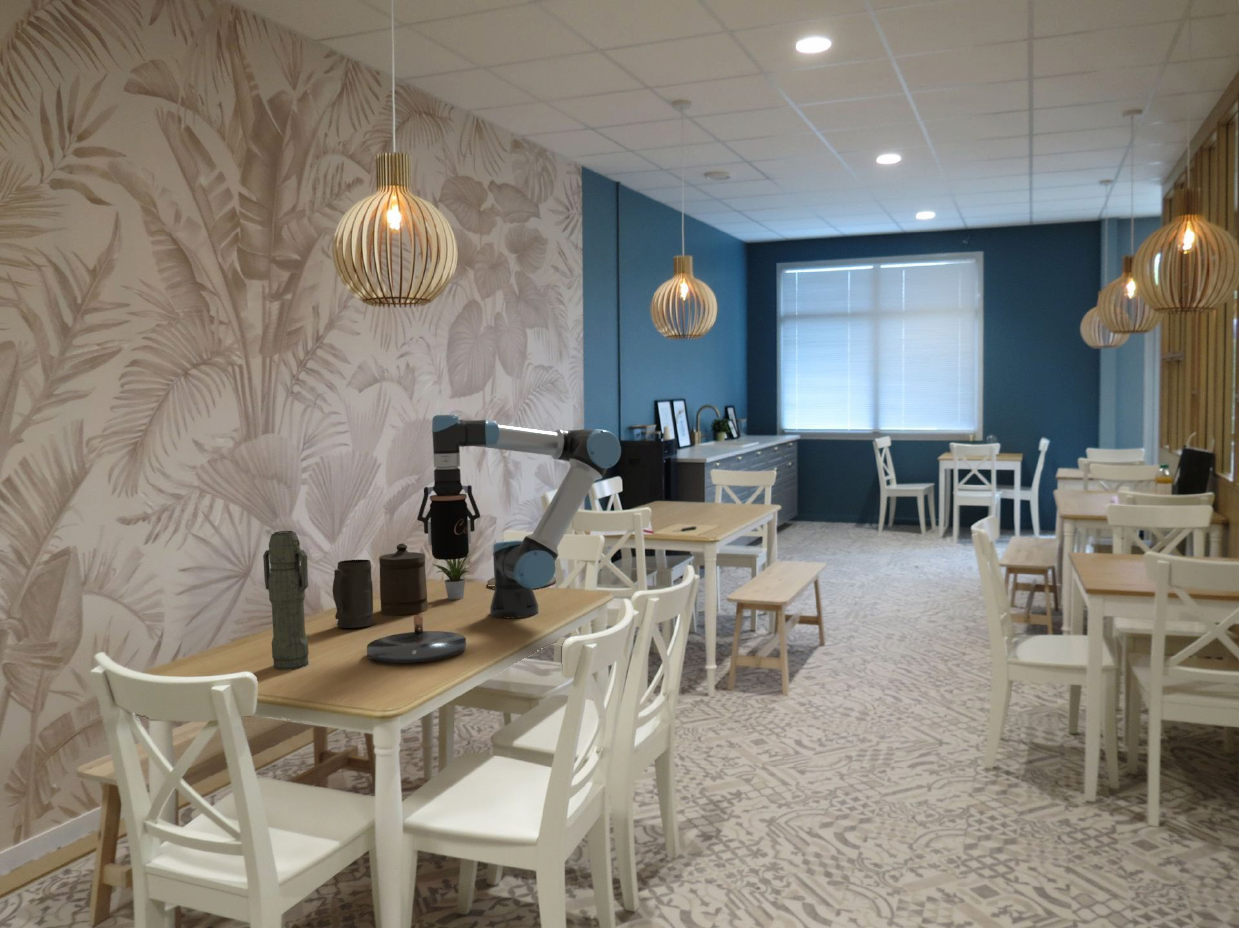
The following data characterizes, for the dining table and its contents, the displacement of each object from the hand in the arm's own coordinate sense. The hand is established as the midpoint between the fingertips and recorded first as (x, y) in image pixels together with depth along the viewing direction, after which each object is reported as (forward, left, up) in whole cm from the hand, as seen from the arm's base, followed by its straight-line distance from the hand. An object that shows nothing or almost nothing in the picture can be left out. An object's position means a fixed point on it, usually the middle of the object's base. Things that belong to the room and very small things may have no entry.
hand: (450, 543), depth 286 cm
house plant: (-1, -53, -26) cm, 59 cm away
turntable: (+9, +22, -26) cm, 35 cm away
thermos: (+41, +25, -26) cm, 55 cm away
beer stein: (+30, -16, -26) cm, 43 cm away
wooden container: (+16, -36, -26) cm, 47 cm away
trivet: (-24, -71, -27) cm, 79 cm away
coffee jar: (0, 0, -4) cm, 4 cm away
